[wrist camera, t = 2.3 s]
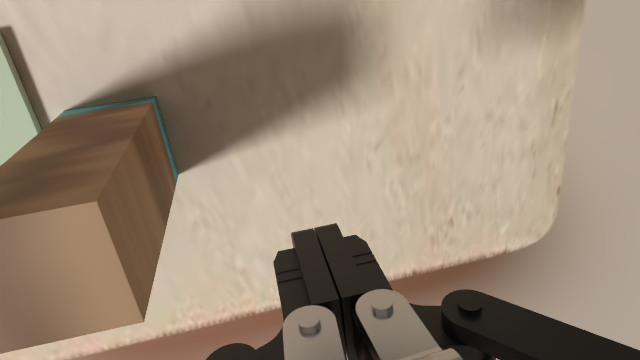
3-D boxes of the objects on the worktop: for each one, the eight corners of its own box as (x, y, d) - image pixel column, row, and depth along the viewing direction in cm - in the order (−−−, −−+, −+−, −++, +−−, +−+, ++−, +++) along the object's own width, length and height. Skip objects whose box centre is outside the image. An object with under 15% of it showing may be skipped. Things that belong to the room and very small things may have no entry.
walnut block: (155, 96, 25) (96, 201, 14) (178, 174, 27) (143, 322, 16) (64, 111, 25) (-79, 234, 13) (94, 190, 27) (-4, 354, 15)
